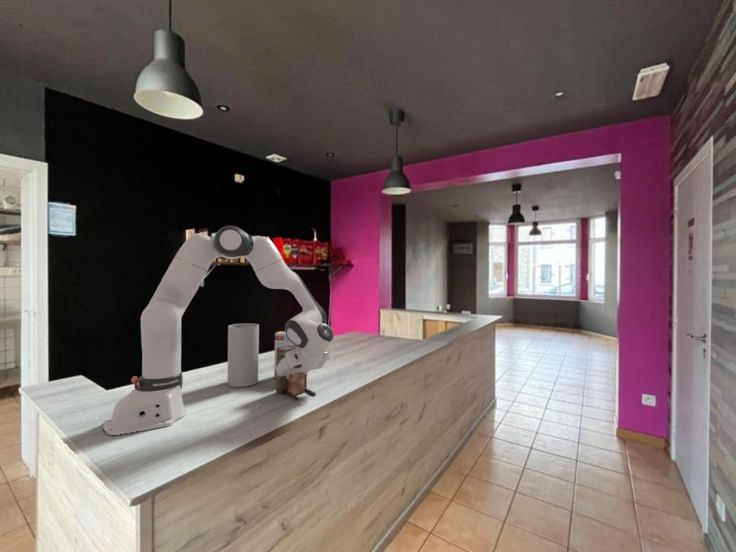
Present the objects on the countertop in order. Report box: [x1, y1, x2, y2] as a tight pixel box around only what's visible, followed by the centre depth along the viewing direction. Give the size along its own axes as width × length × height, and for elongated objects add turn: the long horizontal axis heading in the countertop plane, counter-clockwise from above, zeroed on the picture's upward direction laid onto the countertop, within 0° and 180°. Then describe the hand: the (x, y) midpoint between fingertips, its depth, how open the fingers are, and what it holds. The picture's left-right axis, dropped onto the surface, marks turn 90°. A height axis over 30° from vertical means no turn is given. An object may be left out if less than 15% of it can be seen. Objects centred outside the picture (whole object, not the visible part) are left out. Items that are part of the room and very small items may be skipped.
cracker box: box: [274, 330, 295, 380], centre depth 158 cm, size 14×6×21 cm, turn 84°
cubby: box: [275, 345, 317, 401], centre depth 138 cm, size 12×13×18 cm
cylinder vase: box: [227, 323, 260, 388], centre depth 149 cm, size 12×12×25 cm
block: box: [287, 372, 305, 396], centre depth 139 cm, size 5×5×10 cm
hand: (295, 375), depth 139 cm, fingers open, 5 cm apart
